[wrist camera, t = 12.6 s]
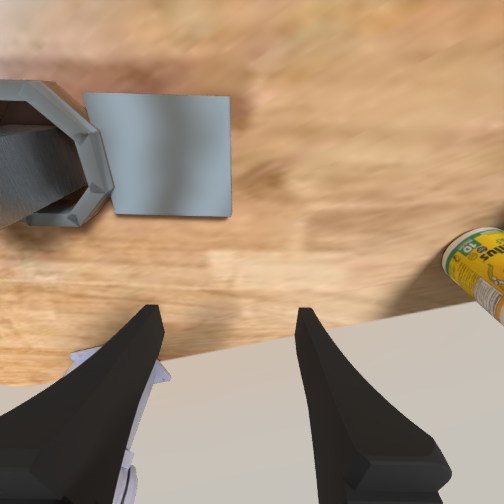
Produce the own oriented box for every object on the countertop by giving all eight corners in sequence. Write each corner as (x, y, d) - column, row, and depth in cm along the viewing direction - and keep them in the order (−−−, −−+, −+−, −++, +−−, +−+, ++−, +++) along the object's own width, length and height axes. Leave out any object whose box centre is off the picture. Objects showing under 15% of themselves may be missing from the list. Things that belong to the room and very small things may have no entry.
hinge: (-85, 209, 21) (-122, 221, 19) (-181, 75, 16) (-245, 71, 14) (232, 217, 21) (229, 230, 19) (229, 86, 16) (226, 85, 14)
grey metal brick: (37, 182, 19) (-79, 227, 13) (13, 124, 17) (-143, 141, 11) (89, 183, 19) (0, 229, 13) (71, 125, 17) (-47, 144, 11)
